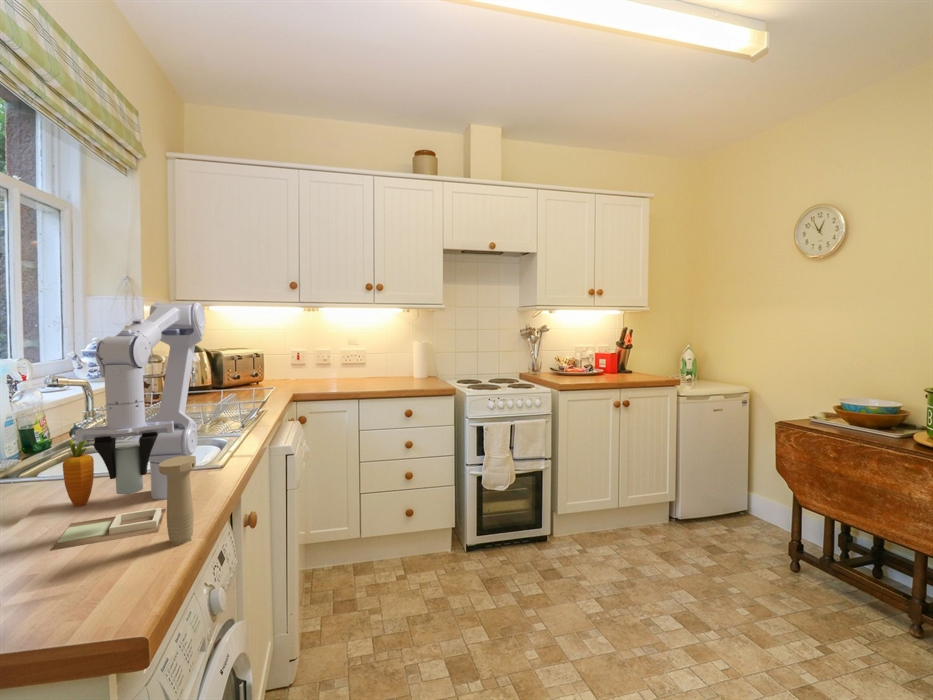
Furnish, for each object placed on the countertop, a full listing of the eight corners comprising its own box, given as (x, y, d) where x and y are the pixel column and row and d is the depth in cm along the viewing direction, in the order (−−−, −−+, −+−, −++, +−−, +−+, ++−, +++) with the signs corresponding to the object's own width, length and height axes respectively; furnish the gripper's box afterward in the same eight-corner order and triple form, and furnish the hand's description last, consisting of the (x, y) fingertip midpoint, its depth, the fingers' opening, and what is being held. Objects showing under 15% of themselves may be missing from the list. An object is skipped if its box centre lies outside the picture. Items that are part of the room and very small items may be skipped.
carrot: (63, 510, 98) (59, 438, 98) (93, 503, 102) (89, 434, 101) (67, 517, 95) (63, 442, 94) (98, 509, 99) (94, 438, 98)
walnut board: (71, 529, 89) (71, 523, 89) (166, 514, 96) (165, 508, 96) (50, 557, 78) (49, 550, 78) (158, 538, 85) (158, 531, 85)
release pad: (68, 528, 87) (68, 527, 87) (112, 521, 90) (112, 520, 90) (57, 543, 81) (57, 542, 81) (104, 535, 84) (104, 534, 84)
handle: (204, 538, 85) (201, 455, 84) (187, 555, 79) (183, 466, 78) (176, 539, 84) (172, 456, 84) (156, 557, 78) (152, 467, 77)
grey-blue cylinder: (118, 489, 89) (116, 446, 88) (144, 485, 90) (142, 443, 90) (114, 495, 85) (112, 451, 85) (141, 492, 87) (139, 448, 87)
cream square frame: (117, 520, 90) (117, 514, 90) (161, 513, 93) (161, 507, 93) (109, 534, 84) (109, 528, 84) (156, 527, 87) (156, 520, 87)
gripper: (68, 408, 80) (72, 488, 81) (170, 401, 87) (173, 475, 87) (79, 402, 86) (83, 476, 87) (173, 396, 93) (176, 465, 94)
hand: (129, 475), depth 88 cm, fingers closed on grey-blue cylinder, 4 cm apart
